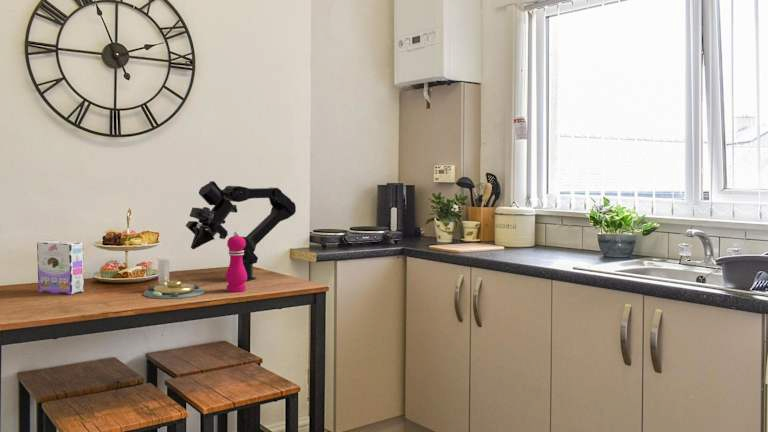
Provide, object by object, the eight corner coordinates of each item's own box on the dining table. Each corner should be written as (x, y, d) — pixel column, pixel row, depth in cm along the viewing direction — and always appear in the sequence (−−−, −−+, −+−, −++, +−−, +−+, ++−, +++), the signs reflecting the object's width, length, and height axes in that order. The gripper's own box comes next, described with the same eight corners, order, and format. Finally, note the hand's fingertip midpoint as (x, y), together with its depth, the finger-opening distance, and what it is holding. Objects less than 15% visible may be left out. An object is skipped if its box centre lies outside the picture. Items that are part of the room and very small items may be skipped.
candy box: (84, 292, 217) (84, 241, 216) (70, 295, 212) (70, 243, 210) (51, 288, 222) (50, 239, 220) (37, 291, 216) (36, 241, 215)
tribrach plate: (216, 293, 219) (216, 288, 219) (163, 301, 205) (163, 295, 205) (184, 285, 231) (184, 280, 231) (132, 292, 217) (132, 287, 217)
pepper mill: (241, 293, 221) (242, 232, 219) (221, 291, 222) (221, 231, 221) (250, 289, 228) (250, 230, 226) (230, 288, 229) (230, 229, 228)
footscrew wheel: (202, 290, 219) (202, 262, 218) (167, 295, 209) (166, 265, 208) (177, 284, 228) (177, 257, 228) (143, 289, 219) (142, 260, 218)
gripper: (189, 198, 238) (162, 232, 231) (218, 199, 226) (190, 235, 218) (209, 218, 245) (184, 252, 238) (239, 220, 232) (212, 256, 225)
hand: (192, 248), depth 229 cm, fingers closed
